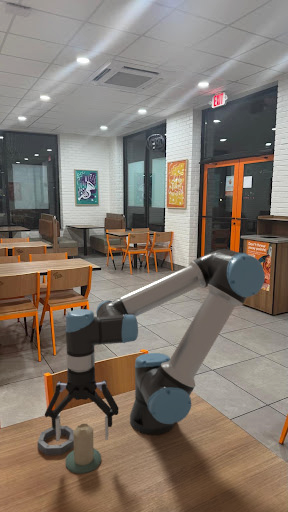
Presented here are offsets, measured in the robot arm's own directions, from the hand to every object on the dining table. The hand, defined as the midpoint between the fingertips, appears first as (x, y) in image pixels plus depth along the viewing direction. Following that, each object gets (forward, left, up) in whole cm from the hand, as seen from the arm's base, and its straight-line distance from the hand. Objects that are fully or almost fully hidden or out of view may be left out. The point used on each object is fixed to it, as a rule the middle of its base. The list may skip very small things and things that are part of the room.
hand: (82, 437), depth 101 cm
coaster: (0, 0, -7) cm, 7 cm away
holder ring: (+9, -8, -7) cm, 14 cm away
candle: (0, 0, -7) cm, 7 cm away
